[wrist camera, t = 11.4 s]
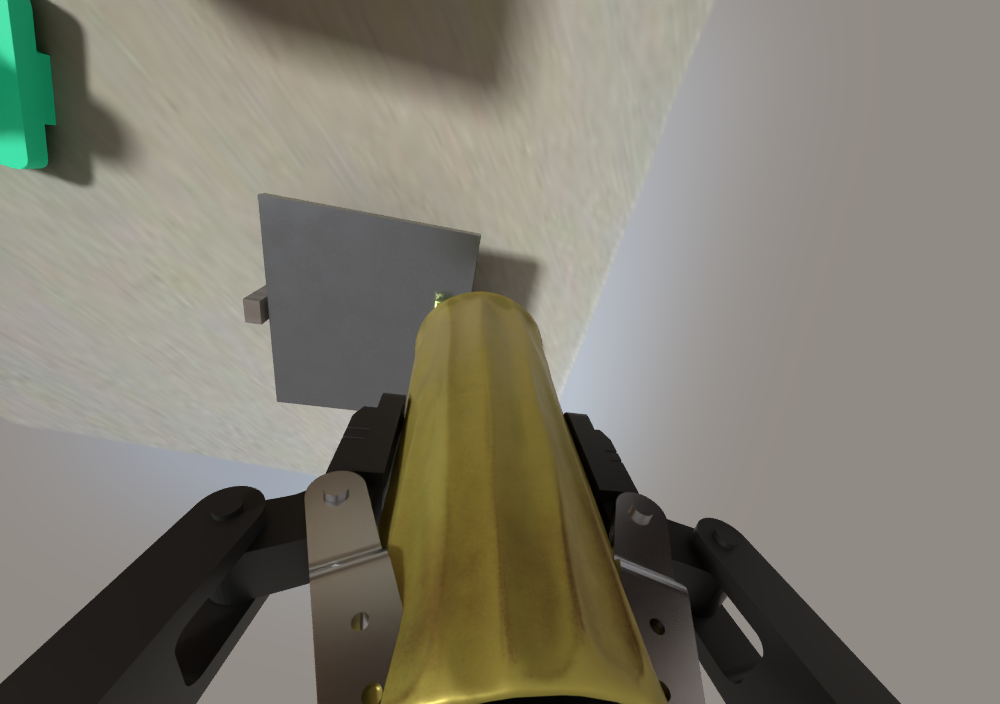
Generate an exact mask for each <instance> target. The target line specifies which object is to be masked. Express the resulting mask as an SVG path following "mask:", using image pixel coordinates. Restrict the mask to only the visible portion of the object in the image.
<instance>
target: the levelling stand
mask: <svg viewBox="0 0 1000 704" xmlns="http://www.w3.org/2000/svg"><path fill="white" fill-rule="evenodd" d="M243 305H244V313H245V322H247V323H254V324H263V323H264V322H265V321H267V320H268V319H269V309H268V298H267V287H266V285H265V286H264V287H262V288H260V289H259V290H257V291H255V292H254V293H252V294H250V295H249V296H247V297H245V298H244V299H243Z"/></svg>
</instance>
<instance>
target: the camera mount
mask: <svg viewBox="0 0 1000 704" xmlns="http://www.w3.org/2000/svg"><path fill="white" fill-rule="evenodd" d="M45 124H47V125H56V116H55V105H54V94H53V84H52V73H51V63H50V56H49V55H47V54H44V53H42V52H39V51H37V50H36V40H35V31H34V22H33V12H32V5H31V2H30V0H0V164H2V165H5V166H8V167H11V168H15V169H41V168H44V167H46V166H47V164H48V153H47V143H46V134H45Z"/></svg>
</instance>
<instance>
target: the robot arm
mask: <svg viewBox="0 0 1000 704" xmlns="http://www.w3.org/2000/svg"><path fill="white" fill-rule="evenodd" d="M405 404H406V395H401V394H392V393H383V394H382V396H381V399H380V402H379V404H378V407H368V406H364V407H362V408H361V409H360V410H359V411H357V412H356V413H355V414H354V415H353V416H352V418H351V420H350V422H349V424H348V427H347V429H346V431H345V433H344V435H343V438H342V439H341V442H340V444H339V446H338V448H337V450H336V452H335V454H334V457H333V459H332V461H331V463H330V465H329V467H328V470H327V472H326V474H324V475H322V476H320V477H318V478H317V479H315V480H314V481H313V482H312V483H311V484H310V485H309V486H308V488H307V490H306V491H304V492H301V493H299V494H296V495H291V496H286V497H280V498H275V499H269V500H265V498H264V495H263V494H262V493H261V492H260V491H259V490H257V489H255V488H252V487H248V486H235V487H229V488H225V489H222V490H219V491H217V492H214V493H212V494H210V495H208V496H207V497H205V498H204V499H202V500H201V501H200V502H199V503H197V504H196V505H195V506H194V507H193V508H192V509H191V510H190V511H189V512H188V513H186V514H185V515H184V516H183V517H182V518H181V519H180V520H179V521H178V522H177V523H175V524H174V525H173V526H172V527H171V528H170V529H169V530H168V531H167V532H166V533H165V534H164V535H163V536H161V537H160V538H159V539H158V540H157V541H156V542H155V543H154V544H153V545H151V546H150V547H149V548H148V549H147V550H146V551H145V552H144V553H143V554H142V555H141V556H139V557H138V558H137V559H136V560H135V561H134V562H133V563H132V564H131V565H130V566H129V567H127V568H126V569H125V570H124V571H123V572H122V573H121V574H120V575H119V576H118V577H117V578H116V579H114V580H113V581H112V582H111V583H110V584H109V585H108V586H107V587H106V588H104V589H103V590H102V591H101V592H100V593H99V594H98V595H97V596H96V597H95V598H94V599H93V600H92V601H90V602H89V603H88V604H87V605H86V606H85V607H84V608H83V609H82V610H80V611H79V612H78V613H77V614H76V615H75V616H74V617H73V618H72V619H71V620H70V621H68V622H67V623H66V624H65V625H64V626H63V627H62V628H61V629H60V630H59V631H58V632H56V633H55V634H54V635H53V636H52V637H51V638H50V639H49V640H48V641H47V642H46V643H44V644H43V645H42V646H41V647H40V648H39V649H38V650H37V651H36V652H35V653H34V654H32V655H31V656H30V657H29V658H28V659H27V660H26V661H25V662H24V663H23V664H22V665H20V666H19V667H18V668H17V669H16V670H15V671H14V672H13V673H12V674H11V675H9V676H8V677H7V678H6V679H5V680H4V681H3V682H2V683H1V684H0V704H196V703H197V702H198V700H199V699H200V697H201V696H202V694H203V692H204V691H205V690H206V688H207V687H208V685H209V684H210V682H211V681H212V679H213V678H214V676H215V675H216V673H217V672H218V670H219V669H220V667H221V666H222V664H223V663H224V662H225V660H226V659H227V657H228V655H229V654H230V652H231V651H232V650H233V648H234V646H235V645H236V644H237V642H238V641H239V639H240V638H241V636H242V635H243V633H244V632H245V630H246V629H247V627H248V626H249V624H250V623H251V621H252V620H253V618H254V617H255V615H256V614H257V612H258V611H259V609H260V608H261V606H262V605H263V603H264V602H265V601H266V599H267V598H268V596H269V595H270V594H272V593H276V592H280V591H283V590H287V589H290V588H294V587H297V586H301V585H305V584H308V583H310V595H311V610H312V625H313V642H314V658H315V674H316V690H317V704H363V703H362V699H363V697H364V695H365V693H366V692H367V691H368V690H369V689H370V688H371V687H373V686H380V687H381V688H382V696H383V692H384V688H385V684H386V680H387V676H388V672H389V669H390V665H391V661H392V657H393V653H394V649H395V645H396V641H397V638H398V634H399V629H400V624H401V619H402V614H403V607H402V603H401V599H400V595H399V591H398V587H397V583H396V579H395V575H394V571H393V568H392V564H391V560H390V556H389V553H388V551H387V549H386V548H383V549H382V547H381V543H380V539H379V535H378V531H377V529H378V525H379V521H380V517H381V513H382V509H383V506H384V502H385V498H386V494H387V491H388V487H389V483H390V477H391V472H392V467H393V462H394V458H395V454H396V450H397V446H398V443H399V439H400V435H401V431H402V427H403V423H404V416H405ZM564 417H565V420H566V422H567V425H568V427H569V430H570V432H571V435H572V438H573V440H574V443H575V446H576V448H577V451H578V454H579V457H580V459H581V462H582V465H583V468H584V471H585V473H586V476H587V479H588V482H589V485H590V487H591V490H592V493H593V496H594V498H595V501H596V504H597V507H598V509H599V512H600V515H601V518H602V521H603V524H604V527H605V530H606V532H607V535H608V538H609V541H610V544H611V547H612V550H613V560H614V564H615V567H616V570H617V573H618V575H619V578H620V581H621V584H622V586H623V589H624V592H625V594H626V597H627V600H628V602H629V605H630V608H631V610H632V613H633V615H634V618H635V621H636V623H637V626H638V628H639V631H640V634H641V636H642V639H643V642H644V644H645V647H646V650H647V652H648V655H649V658H650V660H651V663H652V665H653V668H654V671H655V673H656V675H657V678H658V680H659V682H660V685H661V687H662V689H663V691H664V694H665V696H666V698H667V700H668V704H705V698H704V692H703V685H702V679H701V672H700V666H699V661H700V663H701V664H702V666H703V668H704V669H705V671H706V672H707V674H708V676H709V677H710V679H711V680H712V682H713V684H714V685H715V687H716V688H717V690H718V692H719V693H720V695H721V696H722V698H723V700H724V701H725V703H726V704H901V703H900V702H899V701H898V700H897V699H896V698H895V697H894V696H893V695H892V694H891V693H890V692H889V691H888V690H887V688H886V687H885V686H884V685H883V684H882V683H881V682H880V681H879V680H878V679H877V678H876V677H875V676H874V675H873V673H872V672H871V671H870V670H869V669H868V668H867V667H866V666H865V665H864V664H863V663H862V662H861V661H860V660H859V659H858V657H856V655H855V654H854V653H853V652H852V651H851V650H850V649H849V648H848V647H847V646H846V645H845V644H844V643H843V642H842V641H841V639H840V638H839V637H838V636H837V635H836V634H835V633H834V632H833V631H832V630H831V629H830V628H829V627H828V626H827V624H826V623H825V622H824V621H823V620H822V619H821V618H820V617H819V616H818V615H817V614H816V613H815V612H814V611H813V610H812V609H811V607H810V606H809V605H808V604H807V603H806V602H805V601H804V600H803V599H802V598H801V597H800V596H799V595H798V594H797V593H796V592H795V590H794V589H793V588H792V587H791V586H790V585H789V584H788V583H787V582H786V581H785V580H784V579H783V578H782V577H781V576H780V574H779V573H778V572H777V571H776V570H775V569H774V568H773V567H772V566H771V565H770V564H769V563H768V562H767V561H766V560H765V559H764V557H763V556H762V555H761V554H760V553H759V552H758V551H757V550H756V549H755V548H754V547H753V546H752V545H751V544H750V542H749V541H748V540H747V539H746V538H745V537H744V536H743V535H742V534H741V533H740V532H738V531H737V530H736V529H735V528H733V527H732V526H730V525H729V524H726V523H725V522H723V521H720V520H718V519H714V518H703V519H701V520H700V521H699V522H698V524H697V525H696V527H695V529H694V528H691V527H688V526H685V525H682V524H679V523H676V522H674V521H671V520H668V519H666V516H665V514H664V512H663V511H662V509H661V508H660V507H659V506H658V505H657V504H656V503H655V502H654V501H652V500H651V499H649V498H647V497H646V496H643V495H641V494H639V493H638V491H637V489H636V487H635V485H634V484H633V482H632V480H631V478H630V476H629V474H628V472H627V470H626V468H625V467H624V465H623V463H621V459H620V457H619V455H618V454H617V453H616V452H617V451H616V449H615V448H614V446H613V444H612V442H611V440H610V439H609V438H608V437H607V436H606V435H604V433H603V432H601V431H600V430H594V428H593V425H592V424H591V422H590V419H589V417H588V416H587V415H586V414H576V413H567V412H566V413H564ZM727 596H728V597H729V598H730V600H731V601H732V602H733V603H734V605H735V606H736V607H737V609H738V610H739V611H740V612H741V614H742V615H743V616H744V618H745V619H746V620H747V621H748V623H749V624H750V625H751V627H752V628H753V629H754V631H755V632H756V633H757V635H758V636H759V638H760V640H761V643H762V646H763V657H761V656H760V655H759V653H758V652H757V651H756V649H755V648H754V647H753V645H752V644H751V643H750V641H749V640H748V639H747V637H746V636H745V635H744V633H743V632H742V631H741V629H740V628H739V627H738V625H737V624H736V623H735V621H734V620H733V619H732V617H731V616H730V615H729V613H728V612H727V611H726V609H725V608H724V607H723V605H722V603H723V601H724V600H725V599H726V597H727ZM381 700H382V698H381ZM381 700H380V701H379V703H378V704H381ZM480 704H621V703H618V702H614V701H608V700H602V699H596V698H590V697H584V696H569V695H556V696H535V697H517V698H509V699H503V700H496V701H490V702H485V703H480Z"/></svg>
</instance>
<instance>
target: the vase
mask: <svg viewBox="0 0 1000 704" xmlns="http://www.w3.org/2000/svg"><path fill="white" fill-rule="evenodd" d="M377 531H378V535H379V539H380V543H381V547H382V549H383V548H386V549H387V551H388V553H389V556H390V560H391V564H392V568H393V571H394V575H395V579H396V583H397V587H398V591H399V595H400V599H401V603H402V607H403V614H402V619H401V624H400V629H399V634H398V638H397V641H396V645H395V649H394V653H393V657H392V661H391V665H390V669H389V672H388V676H387V680H386V684H385V688H384V692H383V696H382V688H381V687H380V686H373V687H371V688H370V689H369V690H368V691H367V692H366V693H365V695H364V697H363V699H362V703H363V704H378V703H379V701H380V700H381V698H382V700H381V704H480V703H485V702H490V701H496V700H503V699H509V698H517V697H535V696H556V695H569V696H584V697H590V698H596V699H602V700H608V701H614V702H618V703H621V704H668V700H667V698H666V696H665V694H664V691H663V689H662V687H661V685H660V682H659V680H658V678H657V675H656V673H655V671H654V668H653V665H652V663H651V660H650V658H649V655H648V652H647V650H646V647H645V644H644V642H643V639H642V636H641V634H640V631H639V628H638V626H637V623H636V621H635V618H634V615H633V613H632V610H631V608H630V605H629V602H628V600H627V597H626V594H625V592H624V589H623V586H622V584H621V581H620V578H619V575H618V573H617V570H616V567H615V564H614V560H613V550H612V547H611V544H610V541H609V538H608V535H607V532H606V530H605V527H604V524H603V521H602V518H601V515H600V512H599V509H598V507H597V504H596V501H595V498H594V496H593V493H592V490H591V487H590V485H589V482H588V479H587V476H586V473H585V471H584V468H583V465H582V462H581V459H580V457H579V454H578V451H577V448H576V446H575V443H574V440H573V438H572V435H571V432H570V430H569V427H568V425H567V422H566V420H565V417H564V415H563V412H562V409H561V407H560V404H559V401H558V398H557V394H556V391H555V388H554V385H553V382H552V378H551V374H550V370H549V366H548V363H547V360H546V357H545V354H544V351H543V348H542V339H541V335H540V332H539V329H538V326H537V324H536V322H535V321H534V319H533V318H532V316H531V315H530V314H529V313H528V312H527V311H526V310H525V309H524V308H523V307H522V306H521V305H520V304H518V303H517V302H515V301H513V300H512V299H510V298H507V297H505V296H502V295H499V294H495V293H491V292H484V291H476V292H469V293H465V294H460V295H457V296H454V297H451V298H449V299H447V300H445V301H444V302H442V303H441V304H439V305H438V306H436V307H435V308H434V309H433V310H432V311H431V312H430V313H429V314H428V315H427V316H426V318H425V319H424V321H423V322H422V324H421V327H420V329H419V331H418V335H417V338H416V343H415V359H414V364H413V369H412V374H411V380H410V385H409V391H408V398H407V405H406V411H405V418H404V423H403V427H402V431H401V435H400V439H399V443H398V446H397V450H396V454H395V458H394V462H393V467H392V472H391V477H390V483H389V487H388V491H387V494H386V498H385V502H384V506H383V509H382V513H381V517H380V521H379V525H378V529H377Z"/></svg>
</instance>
